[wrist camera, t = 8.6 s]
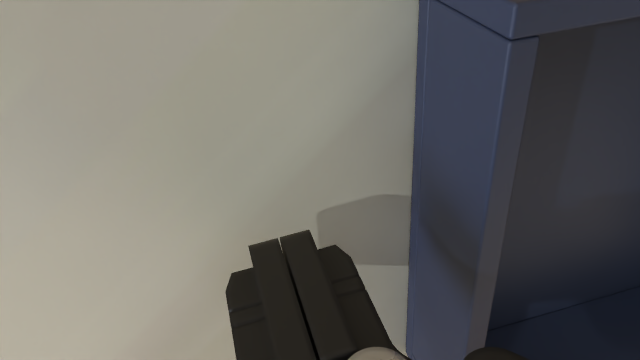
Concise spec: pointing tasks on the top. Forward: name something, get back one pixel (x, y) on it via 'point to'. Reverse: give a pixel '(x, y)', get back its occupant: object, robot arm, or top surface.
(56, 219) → the top surface
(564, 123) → the dark blue tray
